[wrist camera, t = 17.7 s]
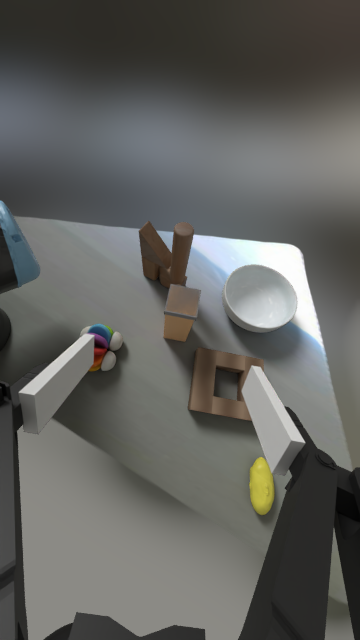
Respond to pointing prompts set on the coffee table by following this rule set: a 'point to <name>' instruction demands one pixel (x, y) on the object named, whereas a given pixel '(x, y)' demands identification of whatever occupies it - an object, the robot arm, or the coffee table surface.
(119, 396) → the coffee table surface
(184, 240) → the wooden v-shaped piece
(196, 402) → the header block
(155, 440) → the coffee table surface
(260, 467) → the yellow oblong piece
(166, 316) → the plug
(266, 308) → the cereal bowl
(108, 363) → the rainbow petal toy
